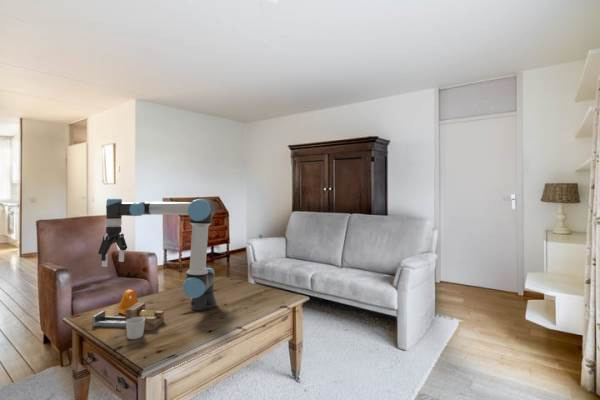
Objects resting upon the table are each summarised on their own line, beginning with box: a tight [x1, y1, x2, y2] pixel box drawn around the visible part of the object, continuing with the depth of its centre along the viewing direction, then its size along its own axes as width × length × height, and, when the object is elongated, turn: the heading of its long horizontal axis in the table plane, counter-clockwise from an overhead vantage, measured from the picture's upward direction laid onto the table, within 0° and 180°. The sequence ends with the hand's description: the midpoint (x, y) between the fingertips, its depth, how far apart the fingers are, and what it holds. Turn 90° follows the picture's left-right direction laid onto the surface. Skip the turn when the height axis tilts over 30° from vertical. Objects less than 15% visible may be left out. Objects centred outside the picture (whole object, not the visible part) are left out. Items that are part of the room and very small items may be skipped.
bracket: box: [117, 289, 139, 316], centre depth 182 cm, size 11×7×12 cm, turn 141°
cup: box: [125, 317, 145, 340], centre depth 152 cm, size 11×8×8 cm
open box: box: [126, 301, 165, 331], centre depth 165 cm, size 14×11×10 cm
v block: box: [91, 310, 126, 329], centre depth 165 cm, size 17×8×5 cm, turn 88°
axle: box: [124, 309, 157, 318], centre depth 165 cm, size 14×4×4 cm, turn 88°
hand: (113, 264), depth 181 cm, fingers open, 13 cm apart
